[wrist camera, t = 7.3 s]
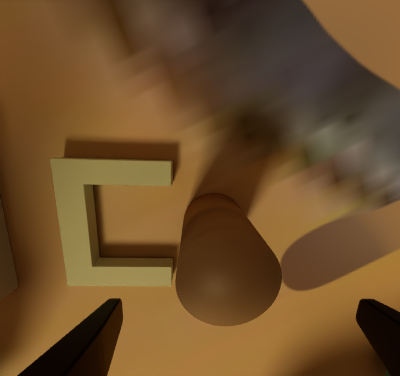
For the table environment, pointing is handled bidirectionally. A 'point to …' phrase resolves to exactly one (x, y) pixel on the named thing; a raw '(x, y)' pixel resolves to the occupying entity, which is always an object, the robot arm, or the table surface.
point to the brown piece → (224, 264)
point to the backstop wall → (6, 260)
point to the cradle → (86, 220)
